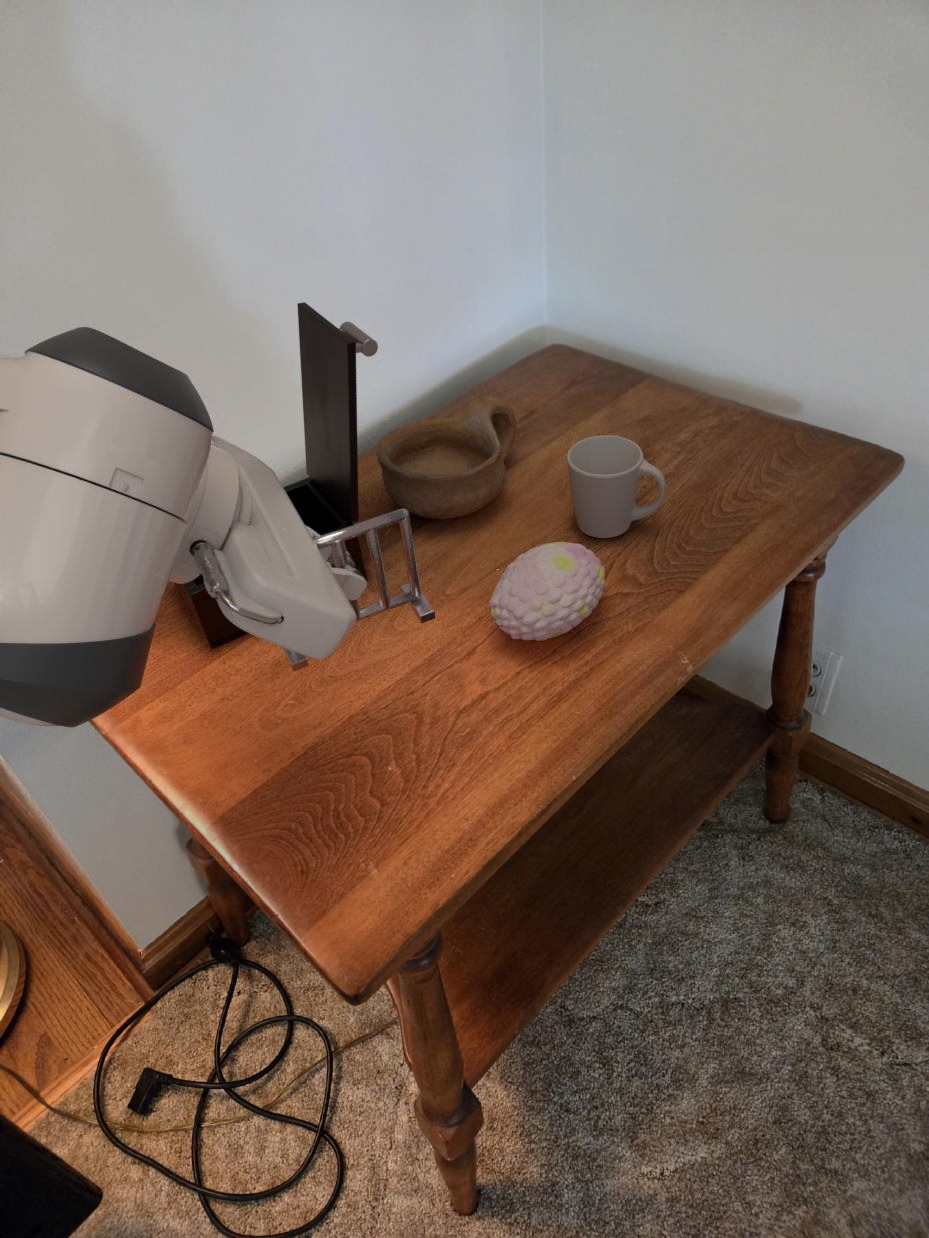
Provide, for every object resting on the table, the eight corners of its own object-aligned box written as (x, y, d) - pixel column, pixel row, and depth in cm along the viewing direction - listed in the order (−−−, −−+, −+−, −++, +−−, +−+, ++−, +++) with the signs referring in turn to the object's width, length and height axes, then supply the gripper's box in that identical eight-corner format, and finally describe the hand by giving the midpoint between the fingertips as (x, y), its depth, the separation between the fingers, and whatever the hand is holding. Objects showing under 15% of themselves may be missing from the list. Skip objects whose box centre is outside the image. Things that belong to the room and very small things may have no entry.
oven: (211, 649, 88) (189, 595, 83) (176, 590, 95) (155, 536, 90) (367, 580, 93) (355, 525, 88) (323, 529, 100) (310, 476, 96)
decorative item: (461, 613, 81) (520, 519, 78) (497, 601, 91) (551, 517, 88) (543, 672, 79) (607, 578, 76) (570, 653, 89) (628, 569, 87)
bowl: (430, 428, 111) (442, 358, 104) (531, 476, 109) (551, 408, 101) (350, 506, 100) (357, 435, 93) (460, 563, 97) (476, 494, 90)
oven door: (347, 343, 77) (393, 336, 79) (297, 303, 84) (340, 297, 86) (351, 523, 88) (391, 512, 90) (306, 473, 95) (344, 465, 97)
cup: (578, 498, 100) (577, 431, 95) (669, 510, 97) (674, 441, 91) (559, 539, 95) (557, 471, 89) (654, 553, 92) (659, 483, 86)
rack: (293, 672, 65) (263, 576, 59) (277, 638, 68) (247, 543, 62) (436, 618, 68) (421, 521, 62) (415, 588, 71) (399, 492, 65)
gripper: (245, 559, 48) (436, 629, 57) (170, 396, 62) (332, 474, 71) (187, 650, 49) (381, 704, 58) (126, 472, 64) (290, 537, 73)
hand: (353, 576), depth 65 cm, fingers closed on rack
